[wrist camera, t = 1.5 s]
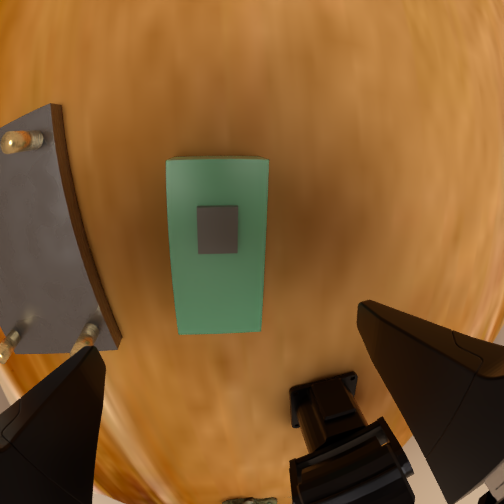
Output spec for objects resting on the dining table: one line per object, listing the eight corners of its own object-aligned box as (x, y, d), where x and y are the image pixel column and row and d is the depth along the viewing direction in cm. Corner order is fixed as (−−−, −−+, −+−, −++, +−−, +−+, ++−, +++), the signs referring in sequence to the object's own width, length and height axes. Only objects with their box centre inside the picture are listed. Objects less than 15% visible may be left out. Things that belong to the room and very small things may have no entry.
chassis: (122, 337, 20) (108, 378, 16) (22, 343, 19) (1, 375, 15) (61, 105, 14) (23, 99, 9) (-39, 157, 13) (-76, 167, 9)
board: (252, 302, 21) (262, 335, 17) (182, 304, 20) (177, 338, 16) (257, 156, 17) (270, 160, 14) (174, 156, 16) (164, 161, 13)
